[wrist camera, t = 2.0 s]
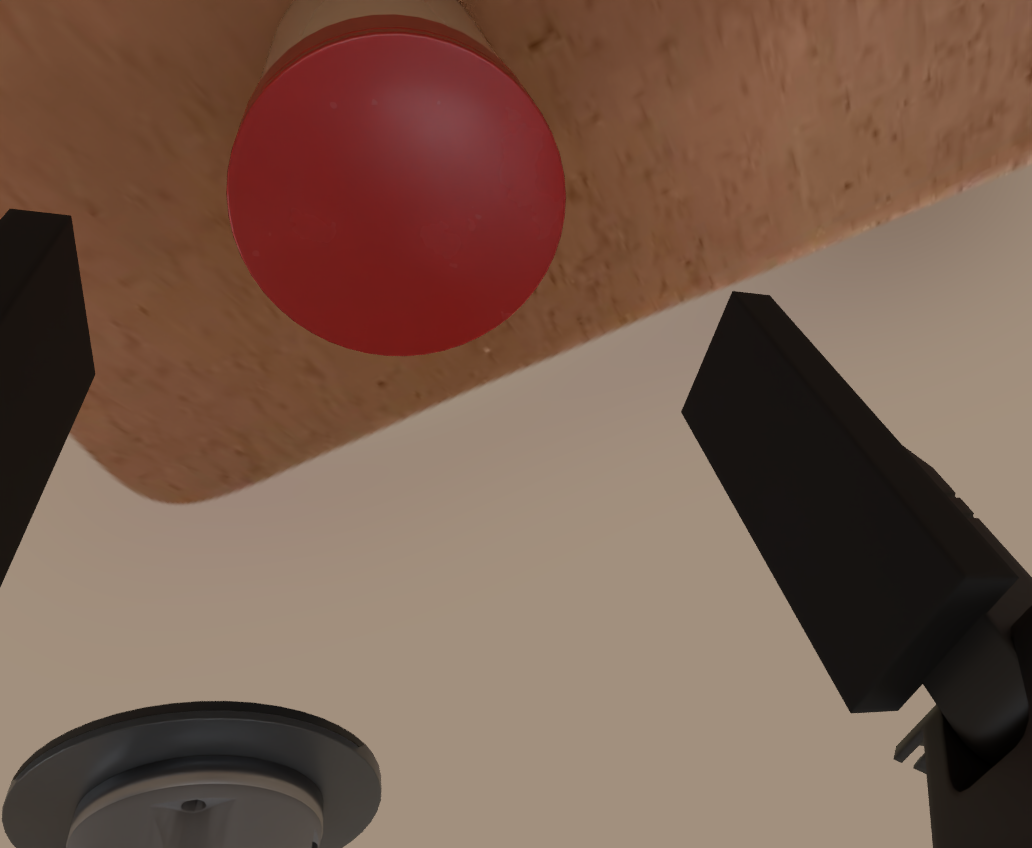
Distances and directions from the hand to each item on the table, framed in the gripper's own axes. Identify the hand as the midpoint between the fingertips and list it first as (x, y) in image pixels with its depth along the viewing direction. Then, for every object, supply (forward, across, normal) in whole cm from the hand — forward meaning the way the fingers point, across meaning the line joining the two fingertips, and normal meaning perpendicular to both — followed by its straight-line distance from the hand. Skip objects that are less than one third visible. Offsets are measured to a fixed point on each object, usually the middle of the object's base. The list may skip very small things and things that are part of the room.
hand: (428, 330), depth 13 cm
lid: (+5, 0, 0) cm, 5 cm away
